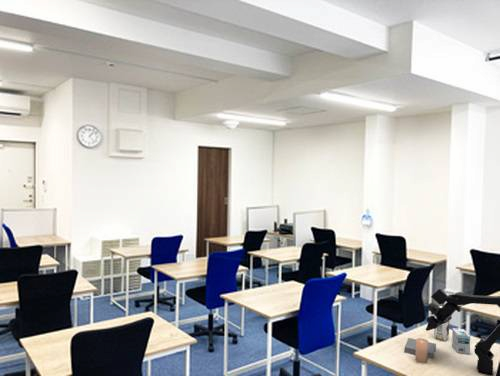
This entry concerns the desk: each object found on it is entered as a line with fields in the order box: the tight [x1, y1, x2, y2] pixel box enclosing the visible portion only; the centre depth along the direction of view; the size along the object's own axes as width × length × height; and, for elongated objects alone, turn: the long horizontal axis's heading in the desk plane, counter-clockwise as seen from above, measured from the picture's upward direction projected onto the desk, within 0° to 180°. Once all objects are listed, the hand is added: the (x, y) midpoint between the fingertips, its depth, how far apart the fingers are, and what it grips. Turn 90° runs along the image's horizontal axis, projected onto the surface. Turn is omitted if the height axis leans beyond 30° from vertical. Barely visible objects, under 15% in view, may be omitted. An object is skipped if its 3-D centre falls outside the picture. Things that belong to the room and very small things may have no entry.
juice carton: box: [433, 305, 450, 342], centre depth 240 cm, size 8×9×19 cm
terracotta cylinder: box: [414, 338, 429, 364], centre depth 210 cm, size 6×6×11 cm
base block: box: [404, 337, 437, 360], centre depth 222 cm, size 15×15×3 cm
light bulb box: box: [451, 327, 471, 355], centre depth 224 cm, size 11×7×11 cm, turn 168°
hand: (430, 328), depth 218 cm, fingers open, 9 cm apart
